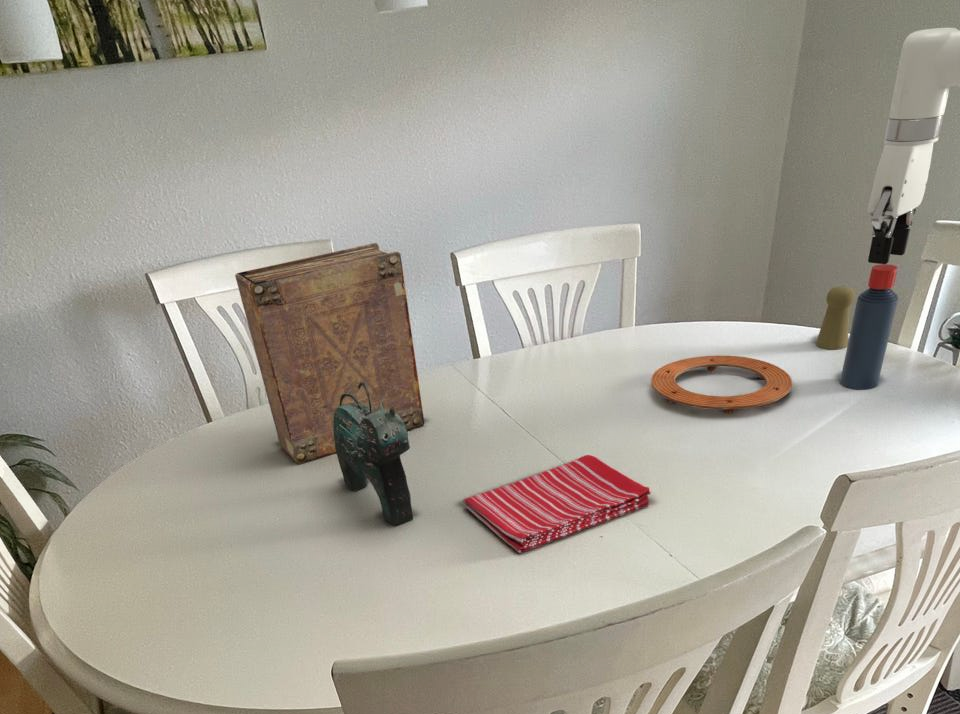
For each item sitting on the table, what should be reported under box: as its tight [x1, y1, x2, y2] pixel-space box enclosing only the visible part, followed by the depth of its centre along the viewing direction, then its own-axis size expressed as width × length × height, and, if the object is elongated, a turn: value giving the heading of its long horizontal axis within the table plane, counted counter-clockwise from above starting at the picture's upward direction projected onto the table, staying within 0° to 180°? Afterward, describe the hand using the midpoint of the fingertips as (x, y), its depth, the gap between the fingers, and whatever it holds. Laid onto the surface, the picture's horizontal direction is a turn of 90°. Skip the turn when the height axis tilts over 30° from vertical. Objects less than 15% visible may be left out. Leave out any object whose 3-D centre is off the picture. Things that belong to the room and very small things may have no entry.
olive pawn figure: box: [815, 285, 856, 350], centre depth 156 cm, size 6×6×11 cm
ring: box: [650, 355, 793, 414], centre depth 146 cm, size 25×25×2 cm
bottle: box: [839, 287, 899, 390], centre depth 138 cm, size 6×6×19 cm
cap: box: [867, 263, 898, 289], centre depth 132 cm, size 4×4×3 cm
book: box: [234, 242, 425, 465], centre depth 135 cm, size 25×9×30 cm, turn 120°
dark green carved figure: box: [333, 382, 414, 527], centre depth 117 cm, size 20×6×20 cm, turn 33°
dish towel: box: [462, 454, 651, 554], centre depth 117 cm, size 17×24×3 cm
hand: (886, 257), depth 130 cm, fingers open, 5 cm apart
